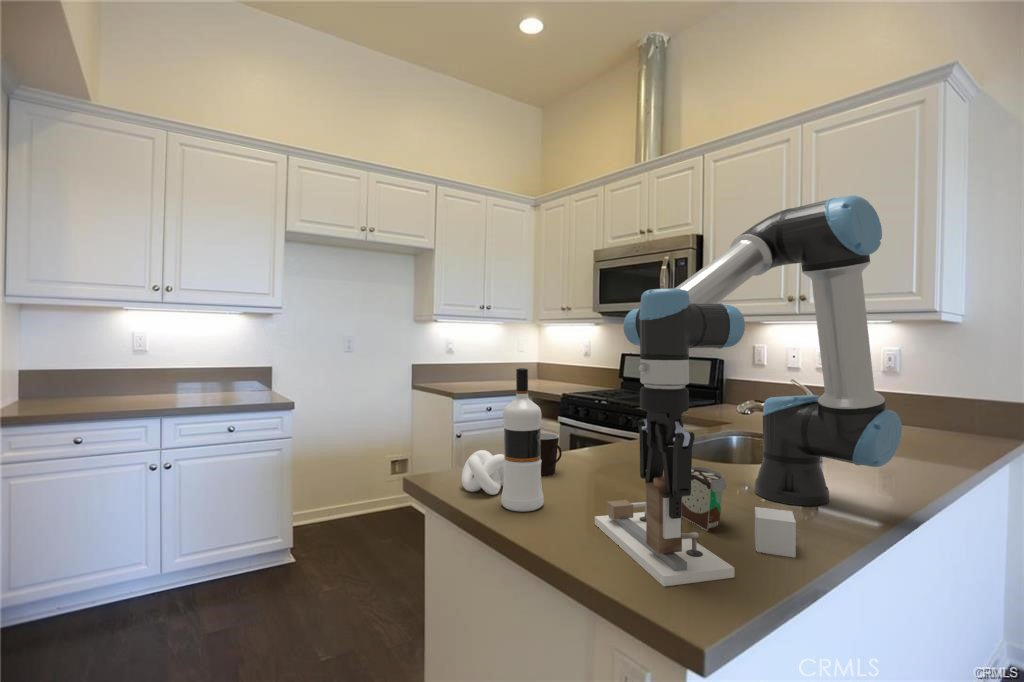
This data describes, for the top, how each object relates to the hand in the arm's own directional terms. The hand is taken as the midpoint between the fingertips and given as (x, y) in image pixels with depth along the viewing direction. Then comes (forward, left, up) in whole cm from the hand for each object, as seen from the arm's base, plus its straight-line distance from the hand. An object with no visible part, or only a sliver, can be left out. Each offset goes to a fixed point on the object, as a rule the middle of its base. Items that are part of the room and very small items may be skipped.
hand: (663, 531), depth 83 cm
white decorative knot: (+20, -47, -6) cm, 51 cm away
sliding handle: (-2, 0, -4) cm, 4 cm away
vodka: (+15, -34, -6) cm, 37 cm away
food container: (-18, -16, -6) cm, 25 cm away
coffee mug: (+3, -57, -6) cm, 57 cm away
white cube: (-22, -2, -6) cm, 23 cm away
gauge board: (-2, -7, -6) cm, 9 cm away
